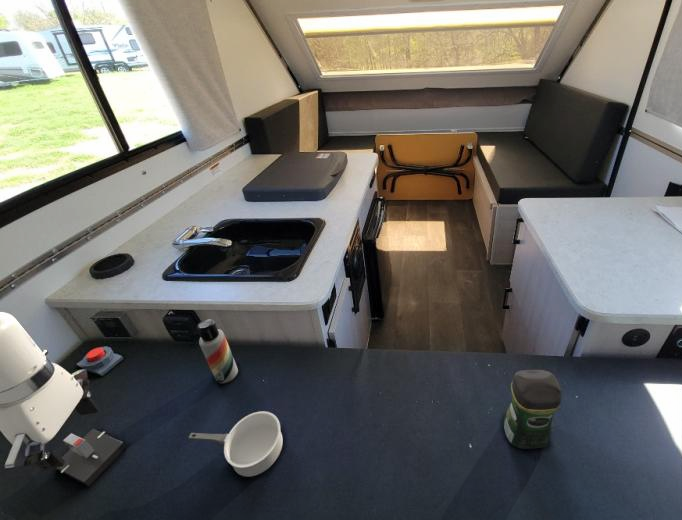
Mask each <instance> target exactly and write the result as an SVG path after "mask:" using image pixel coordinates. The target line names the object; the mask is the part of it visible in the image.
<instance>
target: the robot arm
mask: <svg viewBox="0 0 682 520" xmlns="http://www.w3.org/2000/svg"><path fill="white" fill-rule="evenodd" d="M48 354H49V351H48V350H47V349H44V348H43V349H42V348H40V347H39V346H38V345H37V343H36V342H35V341H34V339H33V338H32V337H31V336H30V334H29V333H28V332H27V331H26V330H25V329H24V327H23V326H22V324H20V322H19V321H18V319H17V318H16V317H15V316H13V315H12V314H11V313H8V312H3V311H0V432H1V433H2V434H3V436H4V437H5V438H6V440H7V441H8V442H9V443H10V444H11V445H12V446H11V448H10V451H9V453H8V456H7V459H6V461H5V464H4V468H5V469H16V468H23V467H28V466H32V465H34V464H35V466H36V467H38V468H39V469H40V470H41V471H43V472H44V471H46V472H47V471H51V470H53V469H56V468H57V467H62V466H63V465H64V463H65V460H64V459H63V458H62V457H63V456H61V455H60V454H59V453H58V452H57V451H56V450H51V442H52V439H53V438H54V437H55V436H56V435H57V434H58V433H59V431H60V429H61V428H62V427H63V426H64V424H65V422H66V421H67V420H68V418H69V417H70V415H71V414H72V413H73V411H74V410H75V411H76V413H78V414H79V415H80V416H86V415H91V414H96V413H98V412H99V410H100V408H99V406H98V405H97V404H96V403H95V401H94V400H93V398H91V396H92V391H91V390H90V380H89V379H88V378H89V376H88V370H86V369H78V370H76V371H74V372H72V373H70V372H69V371H67V370H66V369H65V368H63V367H62V366H61V365H59V364H57V363H55V362H52V361H50V359H49V358H48V357H47V355H48ZM38 445H39V446H40V447H39V448H40V449H39V451H36V449H37V446H38Z"/></svg>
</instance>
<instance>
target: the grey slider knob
mask: <svg viewBox="0 0 682 520" xmlns="http://www.w3.org/2000/svg"><path fill="white" fill-rule="evenodd" d="M82 438H83V437H81V436H78V435H76V434H74V433H72V432H71V433H69V435H67V436H66V437H65V438H64V439H63V440H62V442H64V444H65V445H66V446H67V447H68V448H69V450H70V449H71V450H72V451H73V452H75V453H77V454H79V455H81V456H83V457H85V458H88V457H89V456H90V455H91V454H92V453H93V452H94V450H93V448H92V447H91V446H90V445H89V444H88V443H87V442H86V440H84V439H82Z"/></svg>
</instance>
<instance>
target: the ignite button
mask: <svg viewBox="0 0 682 520" xmlns="http://www.w3.org/2000/svg"><path fill="white" fill-rule="evenodd" d="M104 355H105V352H104V351H103V349H102V348H100V347H95V348H93V349H91V350H90V351H88V352H87V353H86V354H85V356H86V357H87V359H88V360H89V361H90V362H95V361H97V360H99V359H101V358H102V357H103V356H104Z"/></svg>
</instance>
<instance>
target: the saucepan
mask: <svg viewBox="0 0 682 520" xmlns="http://www.w3.org/2000/svg"><path fill="white" fill-rule="evenodd" d="M187 439H188V440H193V441H207V442H213V443H216V444H218V445H220V446H223V455H224V458H225V459H226V461H227V463H228V464H230V465H231V466H232V468H233V470H234V471H235V472H236V474H238V475H240V476H242V477H255V476H258V475H260V474H263V473H264V472H265V471H267V470H268V469H269V468H271V466H272V465H274V463H275V462H276V460H277V459H278V458H279V456H280V454H281V451H282V449H283V442H284V441H283V439H284V438H283V434H282V432H281V422H280V421H279V419H278V417H277V416H276V415H275V414H274V413H272V412H269V411H265V410H262V411H261V410H260V411H256V412H252V413H249V414H248V415H246V416H244V417H243V418H241V419H240V420H239V421H237V423H235V425H234V426H233V427H232V428H231V430H230V431H229V433H223V434H222V433H204V432H191V433H190V434H189V436H188V438H187Z"/></svg>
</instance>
